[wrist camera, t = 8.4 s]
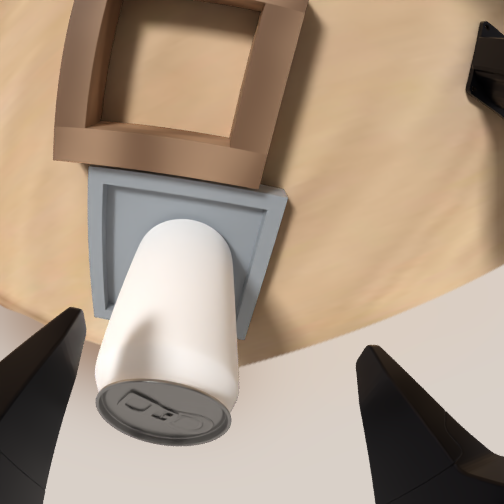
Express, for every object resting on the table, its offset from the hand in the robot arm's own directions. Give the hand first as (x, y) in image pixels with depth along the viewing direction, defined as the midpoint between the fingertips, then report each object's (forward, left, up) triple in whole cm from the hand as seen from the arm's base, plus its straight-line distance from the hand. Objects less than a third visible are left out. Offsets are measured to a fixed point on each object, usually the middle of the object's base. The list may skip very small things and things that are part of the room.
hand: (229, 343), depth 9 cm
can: (+2, +5, -12) cm, 13 cm away
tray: (+2, +5, -12) cm, 14 cm away
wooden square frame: (+4, -7, -12) cm, 15 cm away
